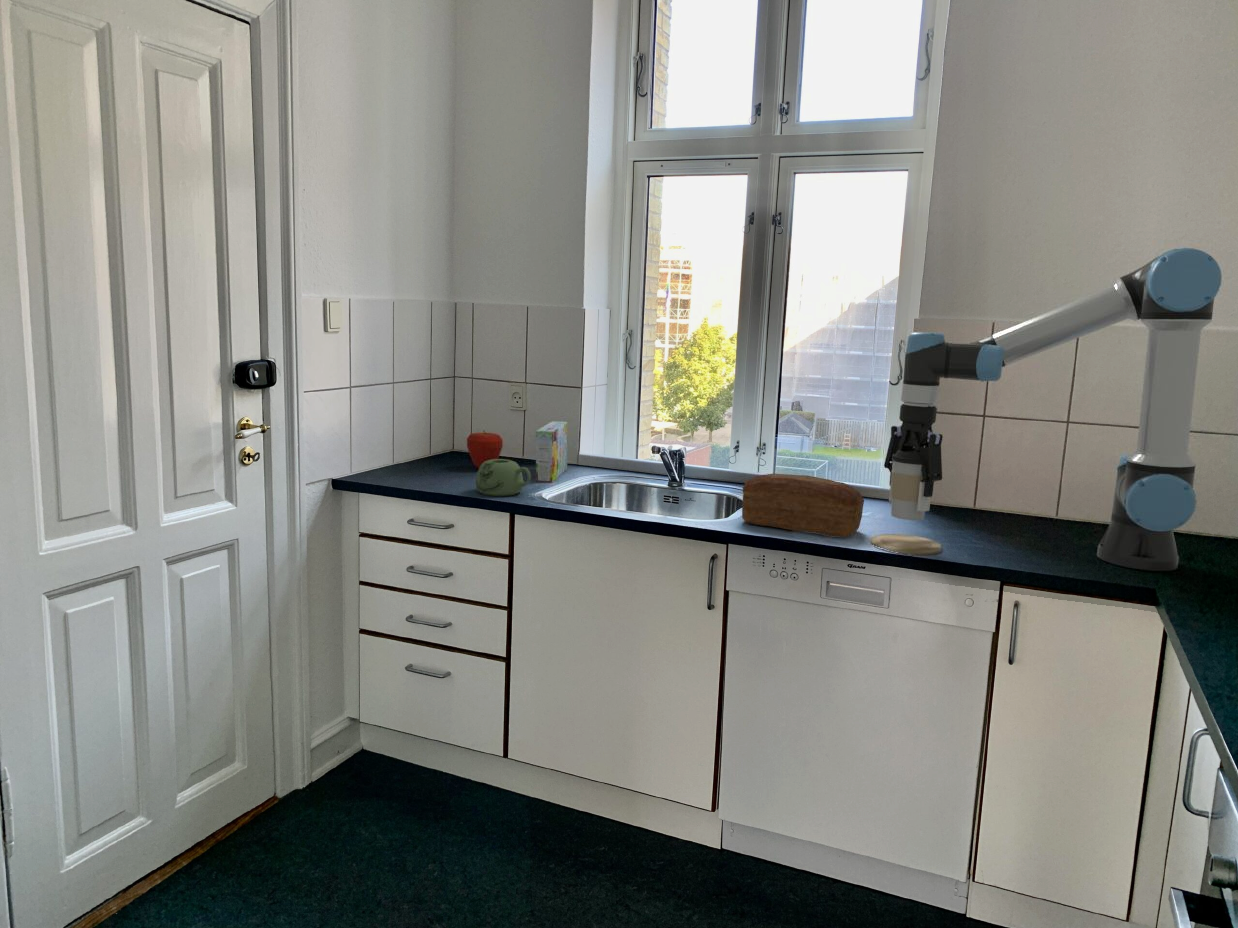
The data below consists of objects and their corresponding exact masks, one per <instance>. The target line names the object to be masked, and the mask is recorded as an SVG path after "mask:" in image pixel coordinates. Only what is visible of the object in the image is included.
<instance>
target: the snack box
mask: <svg viewBox="0 0 1238 928" xmlns="http://www.w3.org/2000/svg"><path fill="white" fill-rule="evenodd" d="M567 470H568V422H567V421H551V422H549V423H547V424H546V425H544V426H542V427H541V428H538V429H537V430H535V482H541V483H542V482H543V483H553V482H555V480H557V479H558V478H559V477H560V476H562V475H563V473H564V472H567Z"/></svg>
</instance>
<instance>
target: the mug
mask: <svg viewBox="0 0 1238 928" xmlns="http://www.w3.org/2000/svg"><path fill="white" fill-rule="evenodd" d="M477 470H478V471H477V473H476V478H475V486H476V490H477V491H478V492H479V493H481V494H483V495H486V496H492V497H493V496H494V497H505V496H514V495H517V494H519V493H520V492H522V491H523V488H524V487H526V486H527V485H528V484H530V482H531V479H532V477H531V472H530V469H528V467H526V466H521V467H520V465H519V464H518V463H517V461H513V460H511V459H506V458H505V459H504V458H498V459H492V460H488V461H485V462H484V463H483V464H482V465H481V466H480V468H479V469H477ZM523 472H525V473H526V477H527V479H526V481H524V478H523Z"/></svg>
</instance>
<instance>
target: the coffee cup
mask: <svg viewBox="0 0 1238 928" xmlns="http://www.w3.org/2000/svg"><path fill="white" fill-rule="evenodd" d="M892 460H893V462H891V463H892V476H891V497H892V502H891V505H890V506H891V510H890V513H891V514H890V516H891V517H893V518H896V519H900V520H906V521H921V520H924V519H925V514H926V511H921V512H919V511H917V505H918V495H919V486H920V480H922V479H923V477H922V472H921V467H922V460H921V459H920V455H919V454H918V453H917V452H916V451H915V448H914V447H913V448H912V449H911V450H910V451H901V450H898V451H897V453H896V454H893V455H892ZM928 476H929V474H928Z"/></svg>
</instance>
